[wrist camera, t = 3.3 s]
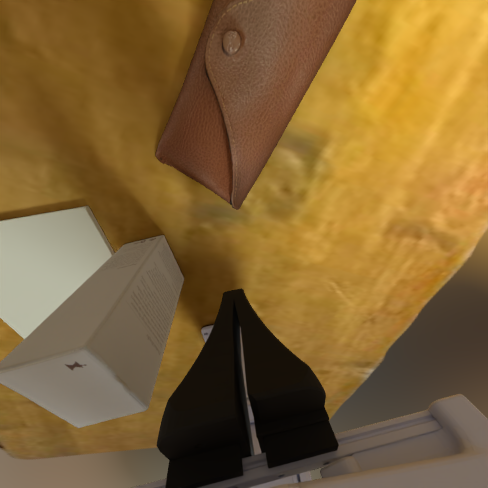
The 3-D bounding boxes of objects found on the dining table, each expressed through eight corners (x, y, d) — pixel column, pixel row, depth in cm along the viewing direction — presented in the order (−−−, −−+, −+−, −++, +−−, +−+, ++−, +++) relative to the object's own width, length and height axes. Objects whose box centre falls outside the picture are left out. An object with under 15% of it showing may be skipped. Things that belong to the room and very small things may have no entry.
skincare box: (123, 243, 18) (-24, 375, 7) (164, 233, 18) (84, 347, 7) (150, 288, 20) (75, 432, 10) (186, 279, 20) (151, 411, 10)
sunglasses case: (258, -179, 9) (403, -388, 5) (312, -14, 14) (404, -51, 10) (150, 163, 15) (175, 195, 11) (215, 190, 20) (249, 219, 16)
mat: (149, 314, 22) (147, 317, 22) (32, 338, 21) (28, 342, 21) (88, 205, 16) (84, 207, 15) (-82, 234, 15) (-92, 236, 14)
